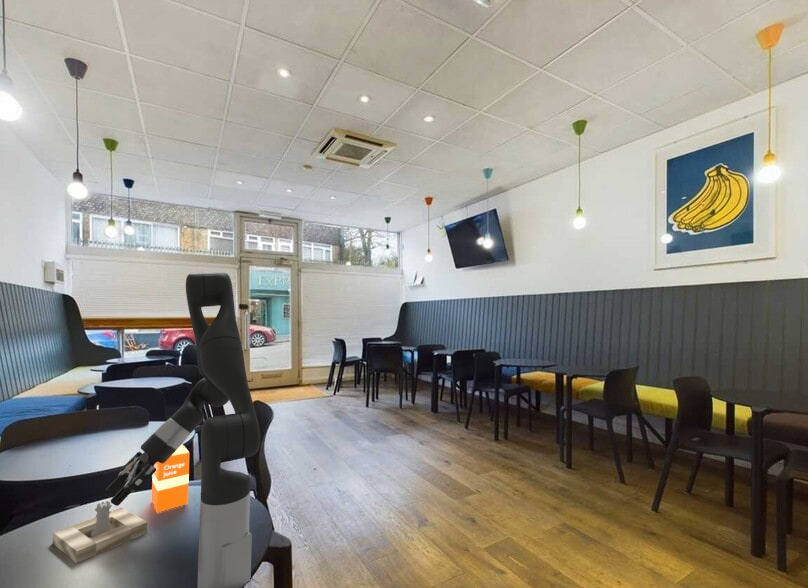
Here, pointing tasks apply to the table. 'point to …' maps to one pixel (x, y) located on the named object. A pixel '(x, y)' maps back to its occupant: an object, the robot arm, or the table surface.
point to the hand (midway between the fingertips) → (111, 498)
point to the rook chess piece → (102, 519)
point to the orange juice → (171, 481)
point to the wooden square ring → (83, 547)
